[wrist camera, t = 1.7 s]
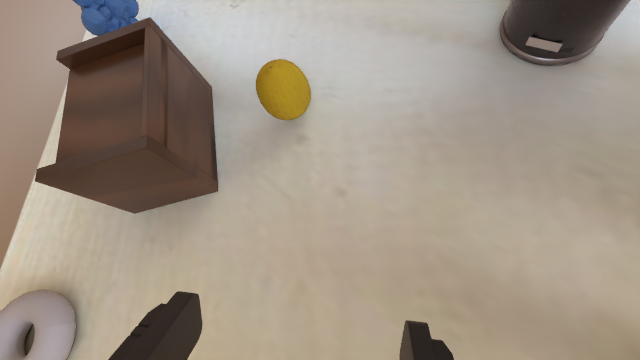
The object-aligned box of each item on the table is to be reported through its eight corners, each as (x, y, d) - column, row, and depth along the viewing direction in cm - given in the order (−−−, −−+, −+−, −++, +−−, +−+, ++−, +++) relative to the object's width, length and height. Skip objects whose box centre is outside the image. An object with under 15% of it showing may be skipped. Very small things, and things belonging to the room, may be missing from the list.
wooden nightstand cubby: (138, 110, 44) (57, 50, 34) (211, 86, 42) (150, 17, 32) (134, 213, 38) (34, 181, 28) (218, 191, 37) (146, 147, 26)
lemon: (264, 119, 39) (233, 78, 31) (291, 85, 40) (266, 36, 32) (299, 140, 37) (274, 100, 29) (327, 102, 38) (309, 55, 30)
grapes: (124, 14, 52) (51, -61, 41) (161, 6, 51) (95, -75, 40) (108, 73, 48) (22, 7, 37) (147, 66, 47) (70, -5, 36)
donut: (1, 326, 37) (16, 413, 33) (-35, 328, 34) (-25, 424, 30) (71, 272, 38) (95, 351, 33) (41, 269, 35) (63, 356, 30)
